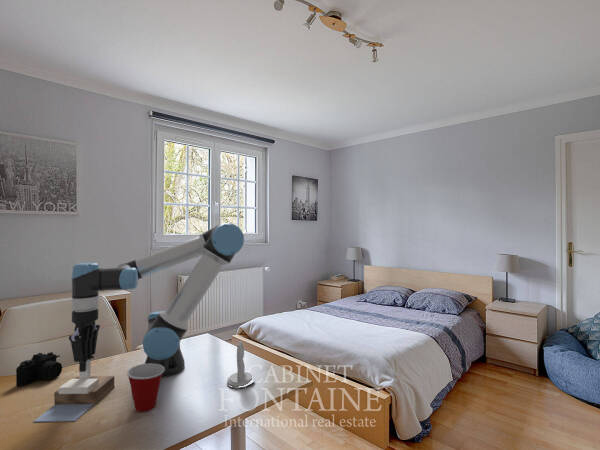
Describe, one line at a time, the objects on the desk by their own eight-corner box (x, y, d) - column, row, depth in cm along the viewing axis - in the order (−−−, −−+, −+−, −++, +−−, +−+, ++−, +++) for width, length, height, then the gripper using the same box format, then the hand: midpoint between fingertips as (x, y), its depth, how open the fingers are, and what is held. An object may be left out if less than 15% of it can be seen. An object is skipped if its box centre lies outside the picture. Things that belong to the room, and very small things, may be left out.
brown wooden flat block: (114, 387, 117) (114, 376, 117) (96, 404, 106) (95, 391, 106) (76, 388, 117) (76, 376, 117) (54, 404, 106) (54, 392, 106)
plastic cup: (161, 414, 100) (161, 374, 100) (122, 419, 97) (122, 378, 97) (167, 396, 110) (167, 360, 110) (132, 400, 108) (132, 363, 108)
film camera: (33, 390, 116) (33, 364, 116) (11, 387, 118) (11, 362, 118) (72, 371, 130) (71, 348, 130) (51, 369, 132) (51, 346, 132)
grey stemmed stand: (256, 375, 125) (256, 336, 125) (251, 388, 115) (251, 345, 115) (230, 375, 126) (230, 336, 126) (223, 388, 116) (223, 345, 116)
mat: (93, 404, 106) (93, 403, 106) (75, 421, 97) (75, 420, 97) (55, 405, 105) (55, 404, 105) (33, 422, 96) (33, 421, 96)
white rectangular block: (98, 384, 111) (98, 378, 111) (87, 393, 105) (87, 387, 105) (71, 384, 110) (71, 378, 110) (58, 393, 104) (58, 387, 104)
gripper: (86, 304, 118) (85, 371, 118) (60, 314, 105) (59, 389, 105) (107, 304, 118) (107, 371, 118) (84, 314, 105) (83, 389, 105)
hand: (84, 379), depth 111 cm, fingers closed
